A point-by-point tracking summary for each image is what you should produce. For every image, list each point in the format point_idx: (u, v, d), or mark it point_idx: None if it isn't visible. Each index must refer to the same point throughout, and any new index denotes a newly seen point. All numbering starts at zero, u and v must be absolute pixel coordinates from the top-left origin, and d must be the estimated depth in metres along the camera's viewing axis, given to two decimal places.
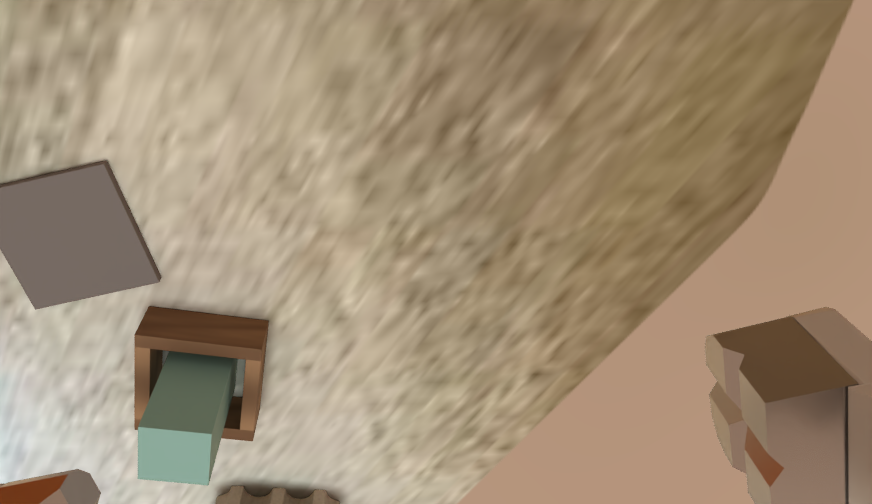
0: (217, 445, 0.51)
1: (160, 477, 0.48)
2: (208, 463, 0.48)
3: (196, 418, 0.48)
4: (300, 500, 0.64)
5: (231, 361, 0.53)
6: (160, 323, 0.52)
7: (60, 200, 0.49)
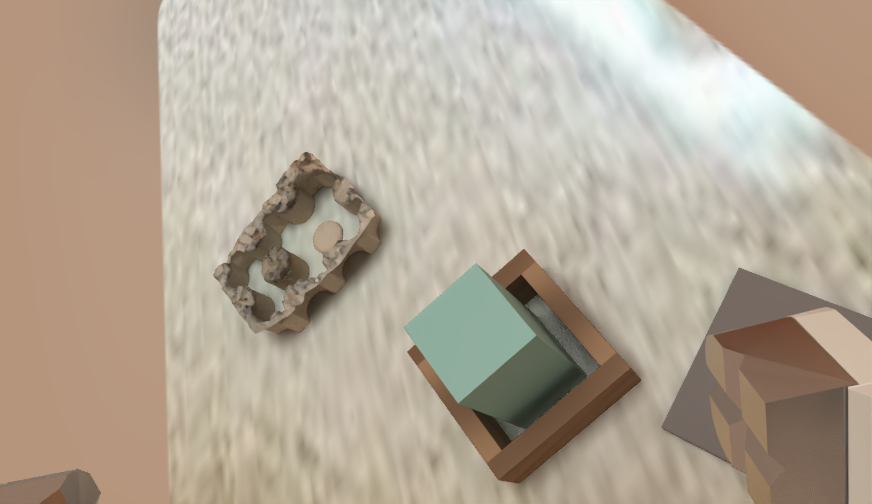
0: None
1: (456, 288, 0.34)
2: (427, 358, 0.33)
3: (488, 390, 0.33)
4: (310, 297, 0.49)
5: (511, 422, 0.38)
6: (616, 390, 0.38)
7: None
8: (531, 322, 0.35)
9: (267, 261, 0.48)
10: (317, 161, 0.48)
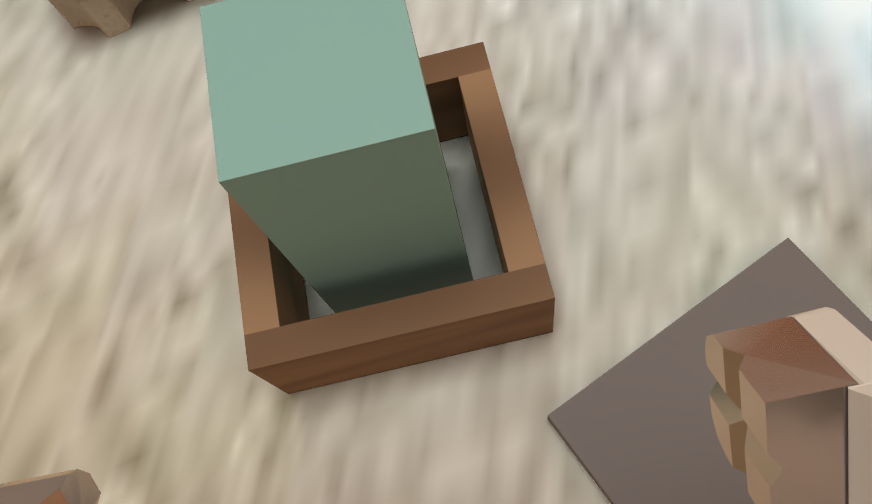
0: None
1: None
2: (210, 77, 0.16)
3: (294, 195, 0.16)
4: None
5: (321, 293, 0.22)
6: (510, 325, 0.22)
7: None
8: None
9: None
10: None
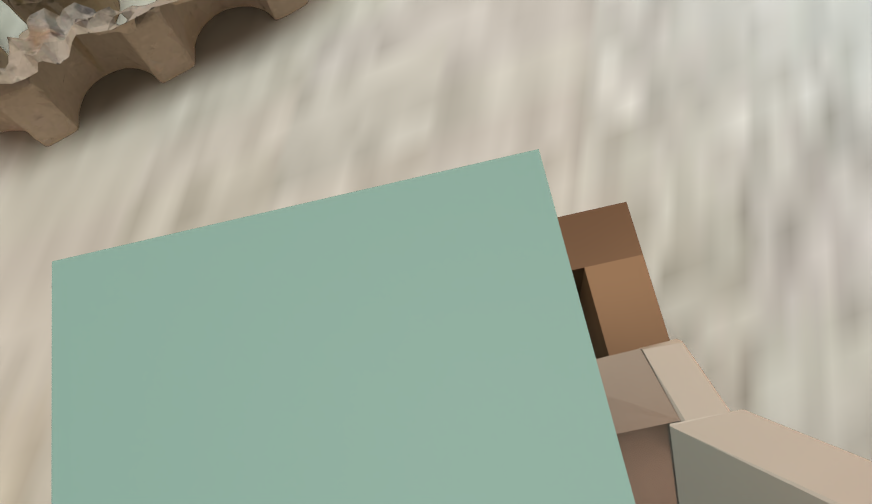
0: None
1: (385, 219, 0.06)
2: (60, 480, 0.06)
3: None
4: (99, 74, 0.20)
5: None
6: None
7: None
8: None
9: None
10: None
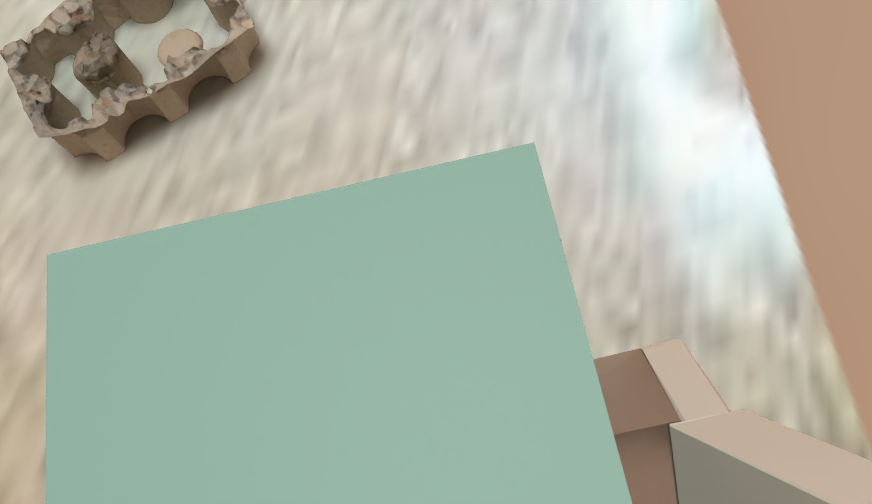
0: None
1: (379, 211, 0.06)
2: (55, 473, 0.06)
3: None
4: (134, 118, 0.35)
5: None
6: None
7: None
8: None
9: (84, 50, 0.34)
10: None
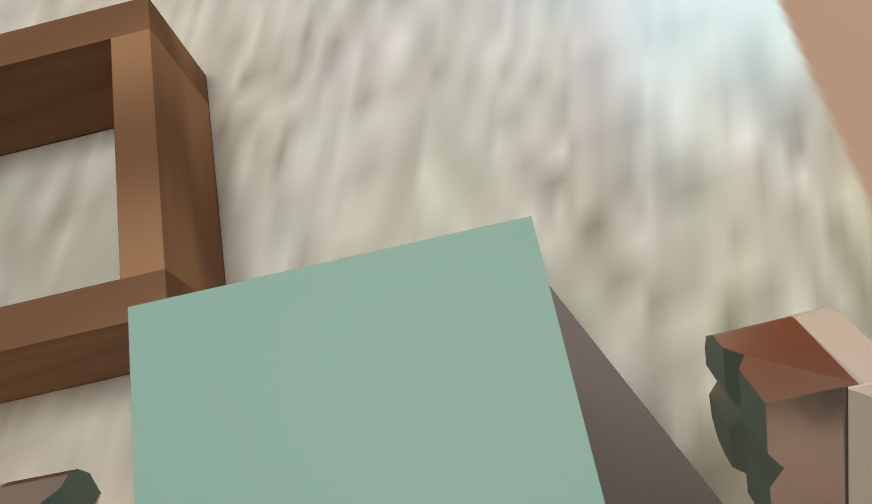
0: None
1: (405, 274, 0.08)
2: (141, 489, 0.07)
3: None
4: None
5: None
6: None
7: None
8: None
9: None
10: None
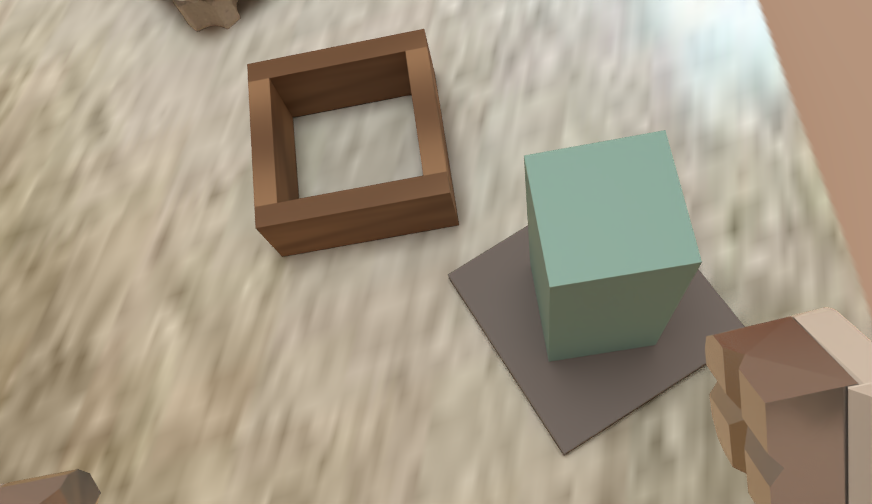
0: (529, 213, 0.26)
1: (621, 147, 0.23)
2: (537, 210, 0.23)
3: (586, 293, 0.23)
4: None
5: (550, 346, 0.29)
6: (425, 213, 0.33)
7: (616, 367, 0.31)
8: None
9: None
10: None
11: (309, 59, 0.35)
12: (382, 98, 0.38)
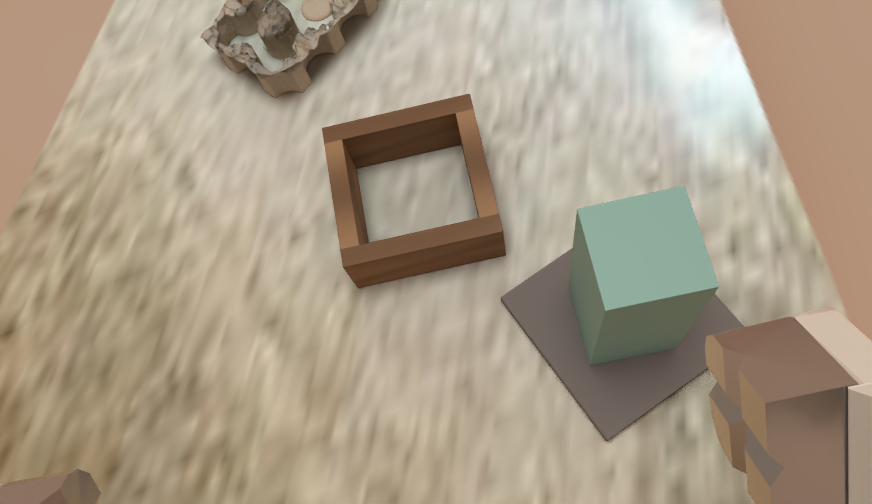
0: (578, 250, 0.33)
1: (652, 199, 0.31)
2: (590, 251, 0.30)
3: (631, 313, 0.30)
4: (308, 59, 0.48)
5: (594, 353, 0.36)
6: (480, 247, 0.40)
7: (645, 368, 0.38)
8: None
9: (267, 16, 0.46)
10: None
11: (374, 122, 0.42)
12: (432, 150, 0.45)
